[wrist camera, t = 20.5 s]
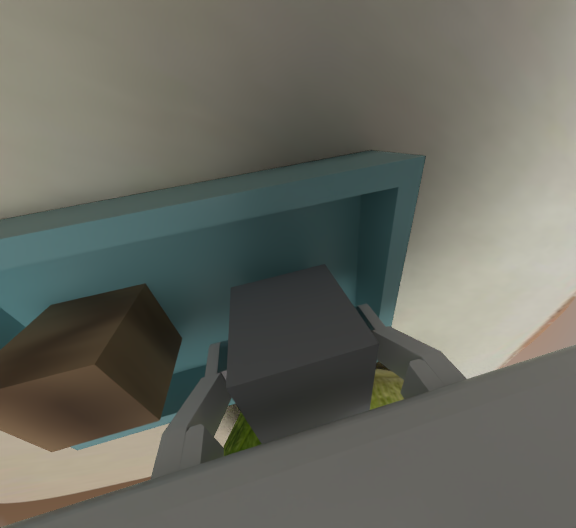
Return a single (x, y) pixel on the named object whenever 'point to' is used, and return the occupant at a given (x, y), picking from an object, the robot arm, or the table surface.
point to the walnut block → (88, 369)
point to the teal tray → (217, 248)
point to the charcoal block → (297, 353)
